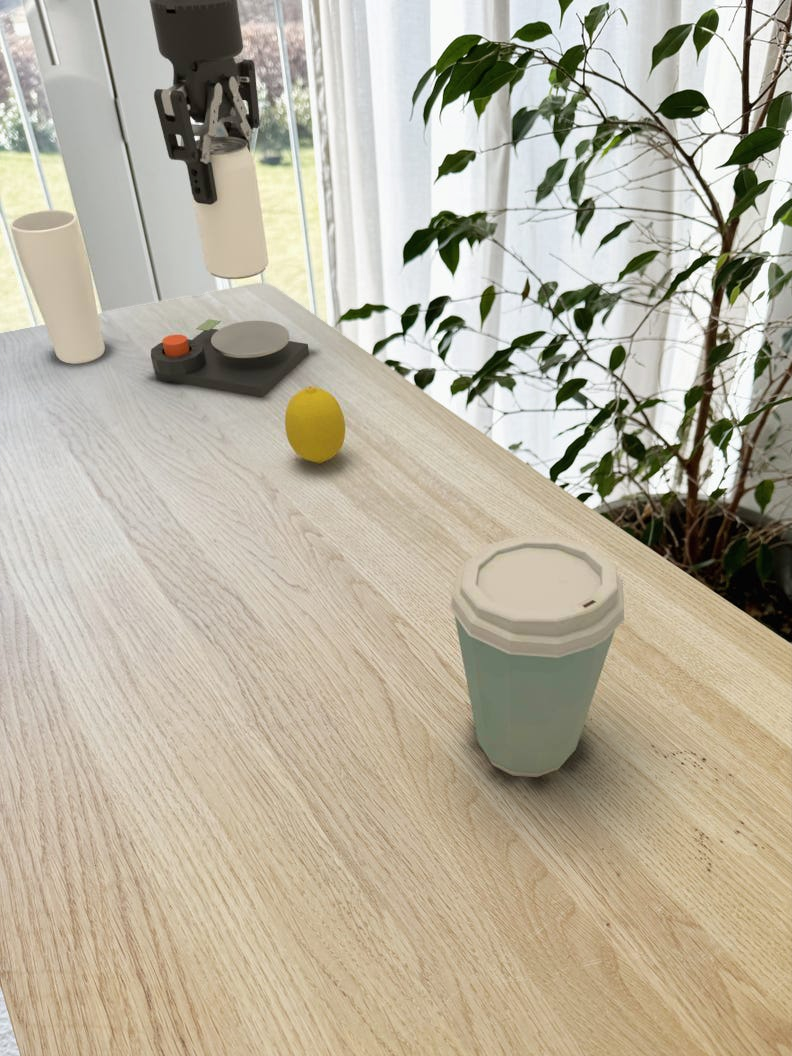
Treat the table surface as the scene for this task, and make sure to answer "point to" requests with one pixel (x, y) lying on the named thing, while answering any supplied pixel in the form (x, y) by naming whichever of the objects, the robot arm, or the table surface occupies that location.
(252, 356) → the weighing pan
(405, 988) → the table surface
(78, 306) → the drinking glass
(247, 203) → the can
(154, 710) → the table surface
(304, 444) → the lemon
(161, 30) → the robot arm
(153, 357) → the scale
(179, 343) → the tare button
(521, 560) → the disposable coffee cup
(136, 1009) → the table surface
